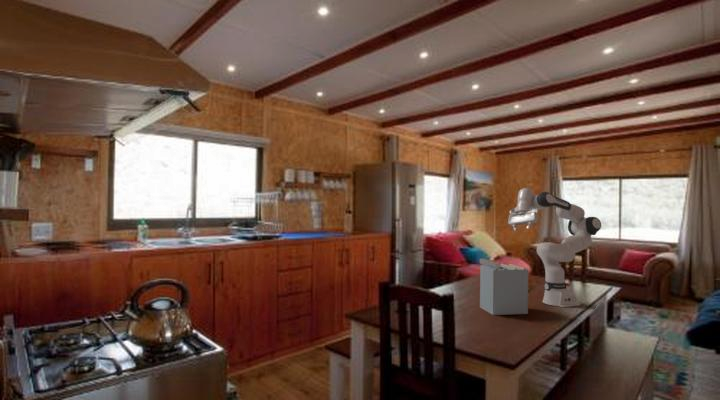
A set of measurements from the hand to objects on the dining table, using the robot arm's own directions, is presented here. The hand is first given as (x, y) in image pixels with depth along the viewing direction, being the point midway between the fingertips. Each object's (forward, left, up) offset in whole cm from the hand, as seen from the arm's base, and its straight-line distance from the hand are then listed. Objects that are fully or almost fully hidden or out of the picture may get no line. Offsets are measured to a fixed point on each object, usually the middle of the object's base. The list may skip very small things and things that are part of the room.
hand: (521, 230), depth 242 cm
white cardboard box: (+19, +12, -48) cm, 53 cm away
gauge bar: (+25, +6, -22) cm, 34 cm away
